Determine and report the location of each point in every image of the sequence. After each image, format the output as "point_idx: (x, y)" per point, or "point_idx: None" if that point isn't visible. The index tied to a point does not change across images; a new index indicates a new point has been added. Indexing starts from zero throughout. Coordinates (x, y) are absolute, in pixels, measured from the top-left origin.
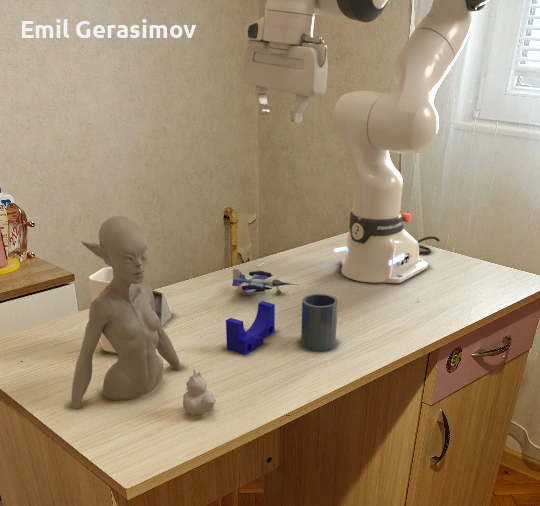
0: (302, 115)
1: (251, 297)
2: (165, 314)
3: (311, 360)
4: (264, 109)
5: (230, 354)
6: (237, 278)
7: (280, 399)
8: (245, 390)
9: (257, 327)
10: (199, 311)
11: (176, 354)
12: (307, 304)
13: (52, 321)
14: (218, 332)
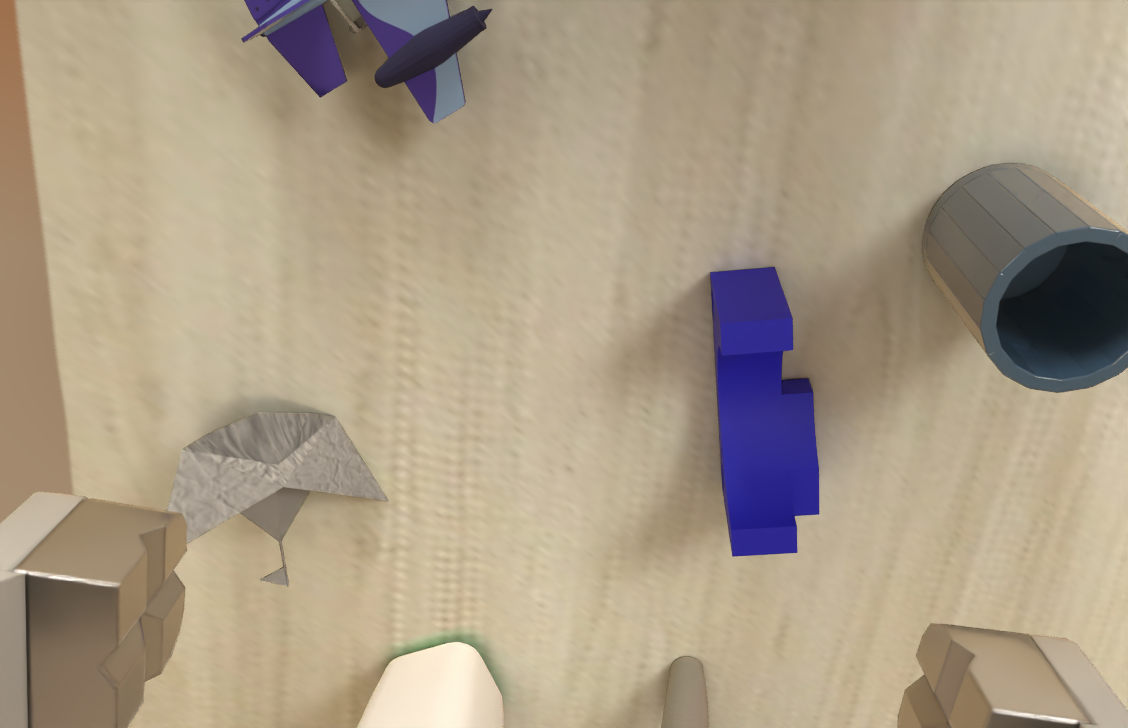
0: (1114, 696)
1: None
2: (344, 465)
3: None
4: (140, 645)
5: None
6: (278, 22)
7: (1097, 622)
8: None
9: (750, 362)
10: (370, 310)
11: (705, 713)
12: (1043, 387)
13: None
14: (590, 406)
